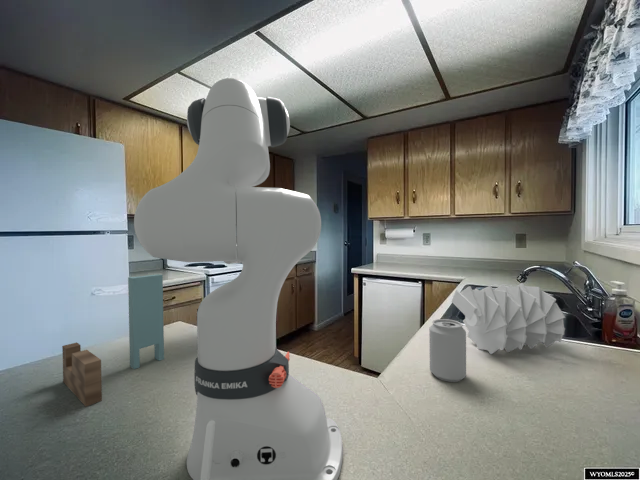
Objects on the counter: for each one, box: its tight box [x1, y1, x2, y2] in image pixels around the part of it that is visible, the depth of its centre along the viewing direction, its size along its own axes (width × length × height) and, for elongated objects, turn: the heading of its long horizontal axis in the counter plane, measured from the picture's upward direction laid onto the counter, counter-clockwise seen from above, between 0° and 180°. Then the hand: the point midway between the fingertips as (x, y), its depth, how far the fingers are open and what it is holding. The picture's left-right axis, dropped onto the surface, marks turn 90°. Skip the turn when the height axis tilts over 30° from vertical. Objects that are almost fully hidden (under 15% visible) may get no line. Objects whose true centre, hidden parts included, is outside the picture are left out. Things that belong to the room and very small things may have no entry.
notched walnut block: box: [61, 342, 103, 408], centre depth 59 cm, size 16×2×8 cm, turn 53°
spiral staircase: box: [450, 282, 566, 355], centre depth 79 cm, size 18×18×25 cm
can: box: [428, 318, 467, 383], centre depth 64 cm, size 8×8×12 cm
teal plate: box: [127, 273, 165, 370], centre depth 72 cm, size 2×7×22 cm, turn 143°
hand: (191, 252), depth 82 cm, fingers open, 8 cm apart
